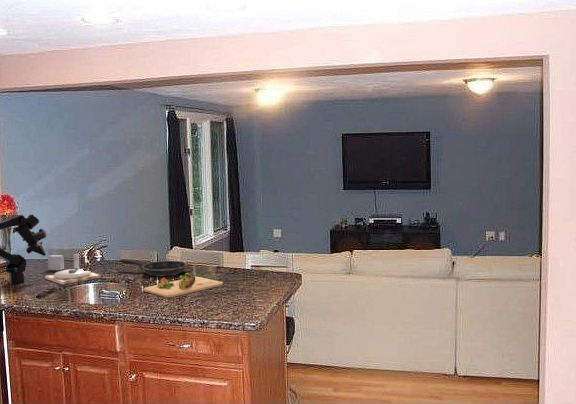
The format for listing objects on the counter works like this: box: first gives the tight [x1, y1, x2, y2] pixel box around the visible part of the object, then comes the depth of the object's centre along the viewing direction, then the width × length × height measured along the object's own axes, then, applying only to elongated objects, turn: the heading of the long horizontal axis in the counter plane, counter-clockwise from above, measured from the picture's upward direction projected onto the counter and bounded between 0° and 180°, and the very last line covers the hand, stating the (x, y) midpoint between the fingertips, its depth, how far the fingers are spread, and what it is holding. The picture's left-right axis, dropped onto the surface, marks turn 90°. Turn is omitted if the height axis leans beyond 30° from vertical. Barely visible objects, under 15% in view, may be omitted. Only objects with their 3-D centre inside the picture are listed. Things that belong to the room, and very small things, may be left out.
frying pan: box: [119, 258, 187, 277], centre depth 342 cm, size 44×25×7 cm, turn 67°
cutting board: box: [143, 272, 224, 298], centre depth 302 cm, size 35×23×8 cm
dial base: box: [44, 271, 101, 285], centre depth 331 cm, size 22×22×2 cm
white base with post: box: [54, 253, 92, 279], centre depth 330 cm, size 19×19×10 cm
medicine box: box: [47, 254, 65, 271], centre depth 355 cm, size 8×4×9 cm, turn 84°
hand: (45, 255), depth 331 cm, fingers closed
